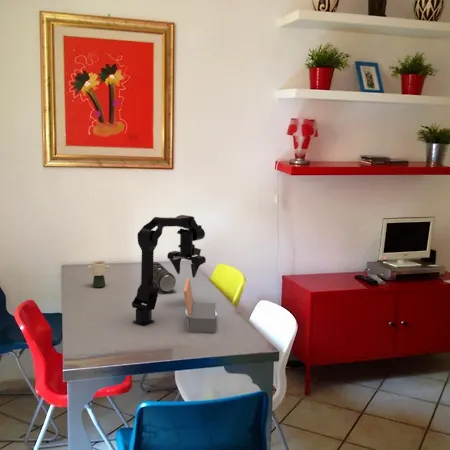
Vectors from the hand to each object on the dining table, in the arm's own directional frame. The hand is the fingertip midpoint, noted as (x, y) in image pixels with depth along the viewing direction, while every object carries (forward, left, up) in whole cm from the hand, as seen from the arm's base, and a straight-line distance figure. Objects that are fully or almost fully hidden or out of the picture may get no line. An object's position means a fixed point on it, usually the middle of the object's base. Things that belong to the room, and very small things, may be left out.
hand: (186, 275), depth 244 cm
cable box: (-9, -18, -15) cm, 25 cm away
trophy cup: (-4, +55, -15) cm, 57 cm away
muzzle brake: (+17, +31, -15) cm, 38 cm away
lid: (-17, -16, -3) cm, 23 cm away
